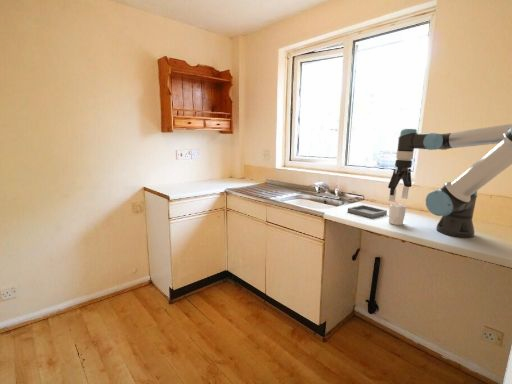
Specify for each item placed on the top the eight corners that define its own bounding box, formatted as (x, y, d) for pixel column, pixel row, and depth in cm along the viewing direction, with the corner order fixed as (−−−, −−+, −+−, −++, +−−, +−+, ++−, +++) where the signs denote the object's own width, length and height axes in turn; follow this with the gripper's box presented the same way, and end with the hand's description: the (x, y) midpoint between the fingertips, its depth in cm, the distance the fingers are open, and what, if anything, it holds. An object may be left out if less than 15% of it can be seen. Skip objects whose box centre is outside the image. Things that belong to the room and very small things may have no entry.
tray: (386, 214, 166) (387, 210, 165) (371, 218, 156) (372, 214, 156) (362, 208, 178) (362, 204, 178) (347, 212, 169) (347, 208, 168)
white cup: (406, 226, 144) (408, 207, 142) (389, 224, 146) (392, 206, 144) (401, 221, 152) (403, 204, 150) (386, 220, 153) (388, 203, 151)
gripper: (407, 158, 153) (402, 196, 157) (384, 159, 138) (378, 201, 142) (422, 159, 147) (416, 198, 151) (399, 161, 132) (393, 204, 136)
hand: (398, 199), depth 147 cm, fingers open, 13 cm apart
